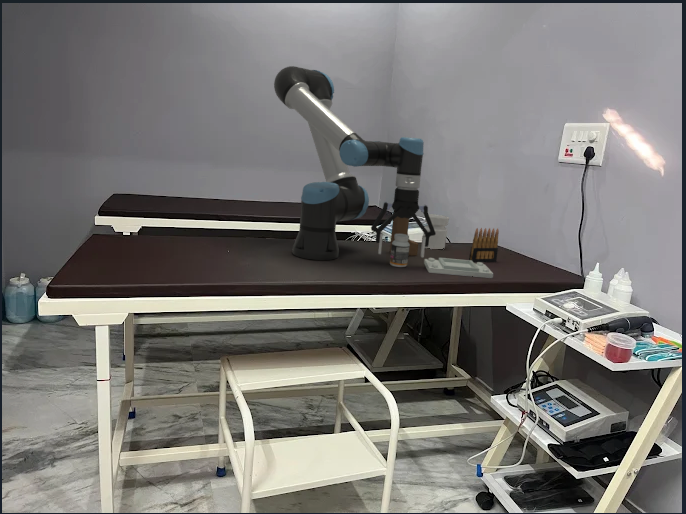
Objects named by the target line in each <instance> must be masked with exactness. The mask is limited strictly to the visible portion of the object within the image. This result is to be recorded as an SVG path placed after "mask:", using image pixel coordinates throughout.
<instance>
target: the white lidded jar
mask: <svg viewBox="0 0 686 514" xmlns="http://www.w3.org/2000/svg"><path fill="white" fill-rule="evenodd" d="M428 215H429V217H430V220H431V222H432V225H433V228H434V230H435V233H436V234H435V235H433V236H430V237H429V244H428V247H425V249H427V248H430V249H429V250H432V249H443V248H444V249H445V247H446V240H447V235H448V229H447V226H448V225H449V221H450V217H448V216H447V215H441V214H434V213H433V214H431V213H428ZM424 222H425V223H426V225H425V226H424V227H425V229H426V230H427V231H428V232H430V229H429V227H428V224H427V222H426V219H424ZM422 234H423V235H422V236H425V234H424V233H422ZM444 249H443V250H444Z"/></svg>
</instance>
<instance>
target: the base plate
mask: <svg viewBox="0 0 686 514" xmlns="http://www.w3.org/2000/svg"><path fill="white" fill-rule="evenodd" d="M423 265H424V267H425V268H426V270H427V272H428V273H431V274H439V275H440V274H442V275H450V276H451V275H453V276H461V277H462V276H463V277H465V276H466V277H472V276H473V277H474V278H486V279H493V278H494V273H493V271H492V270H491V269H490V268H489V267H488V266H487V265H486V264H484V262H473V261H471V260H469V259H458V258H457V259H456V258H448V257H447V258H446V257H438V259H436V258H434V257H428V258H424V259H423Z"/></svg>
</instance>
